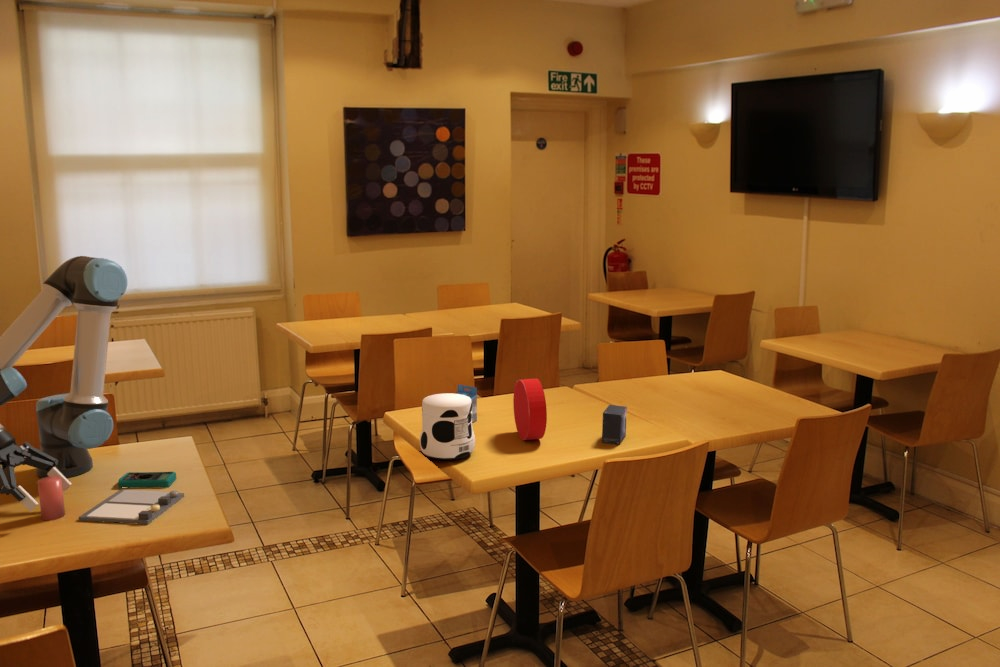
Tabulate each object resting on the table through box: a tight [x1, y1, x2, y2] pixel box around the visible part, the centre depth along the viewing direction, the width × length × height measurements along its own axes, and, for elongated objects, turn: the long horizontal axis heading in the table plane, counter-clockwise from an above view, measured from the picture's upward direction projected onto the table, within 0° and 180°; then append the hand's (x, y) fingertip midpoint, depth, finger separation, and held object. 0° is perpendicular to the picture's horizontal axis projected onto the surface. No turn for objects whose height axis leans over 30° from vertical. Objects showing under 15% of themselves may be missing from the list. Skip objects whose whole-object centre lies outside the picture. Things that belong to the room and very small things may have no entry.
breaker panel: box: [78, 489, 185, 525], centre depth 232 cm, size 19×19×3 cm
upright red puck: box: [512, 378, 548, 441], centre depth 288 cm, size 20×6×20 cm, turn 14°
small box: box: [601, 404, 628, 446], centre depth 287 cm, size 11×6×10 cm, turn 161°
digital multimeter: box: [117, 471, 177, 489], centre depth 250 cm, size 7×15×3 cm, turn 92°
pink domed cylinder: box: [37, 476, 66, 521], centre depth 227 cm, size 6×6×10 cm
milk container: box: [419, 392, 476, 461], centre depth 272 cm, size 17×17×18 cm
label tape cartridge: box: [454, 384, 478, 424], centre depth 309 cm, size 9×4×12 cm, turn 55°
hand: (51, 497), depth 226 cm, fingers open, 13 cm apart
